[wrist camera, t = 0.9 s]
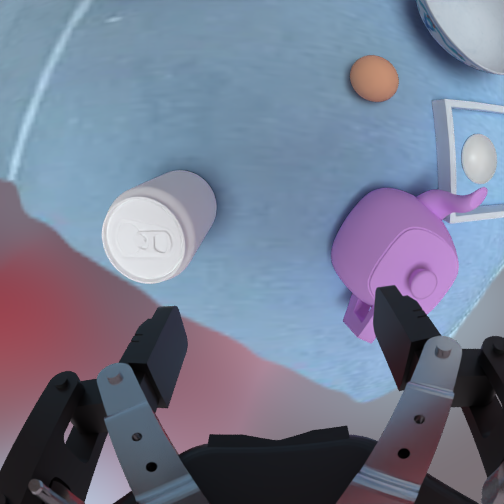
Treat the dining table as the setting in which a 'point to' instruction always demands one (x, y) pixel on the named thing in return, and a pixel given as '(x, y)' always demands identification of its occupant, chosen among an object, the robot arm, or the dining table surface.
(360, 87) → the ball
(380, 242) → the teapot
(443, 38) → the chinaware
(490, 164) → the disc
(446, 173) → the grey square frame
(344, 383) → the dining table surface
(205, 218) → the beverage can
